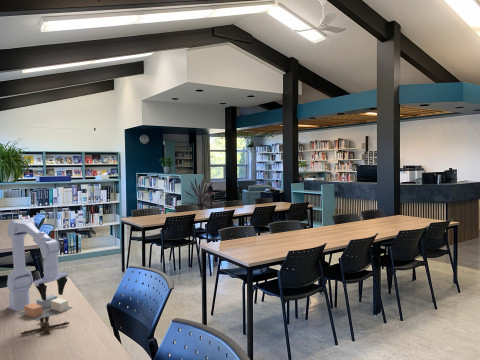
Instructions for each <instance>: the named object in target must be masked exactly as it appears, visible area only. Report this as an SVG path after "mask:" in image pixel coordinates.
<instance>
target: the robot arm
mask: <svg viewBox="0 0 480 360" xmlns="http://www.w3.org/2000/svg"><path fill="white" fill-rule="evenodd" d="M7 233H8V238H11V247H12V249H11V250H12V262H13V270H12V272H11V273H9V274H8V275H7V281H6V288H7V289H8V290H9V292H8V293H9V294H8V302H9V305H8V306H7V308H8V309H10V310H12V311H14V312H19V311H24V306H25V305H28V304H31V299H30V288H31V286H32V285H34V286H35V288H36V289H37V291H38V293H39V294H40V297H41V298H42V300H44V301H45V300H46V297H47V287H48V286H47V285H46V284H47V283H51V282H55V281H56V283H57V291H58V293H57V294H58V295H59V296H62V295H63V294H64V290H65V286H66V284H67V282H68V278H69V272H61V273H59V258H58V257H59V256H58V254H59V253H58V252H60V250H61V243H60V241H59V240H58V239H57V238H51V237H50V236H49V235H48V234H47V233H46V232H45V231H41V230H40V229H38V228H37V227H36V222H35V220H34V219H33V218H31V217H29V218H23V219H17V220H10V221H9V222H8V224H7ZM27 235H29V236H31V237H32V241H33V242H34V243H35V245H36V246H38V247H39V250H40V253H41V257H42V259H43V277H42V278H38V279H37V280H34V279H33V278H34V277H33V275H32V271H30V270H29V269H27V267H26V253H25V237H26V236H27ZM41 298H40V299H41Z"/></svg>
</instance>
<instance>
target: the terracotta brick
mask: <svg viewBox="0 0 480 360" xmlns="http://www.w3.org/2000/svg"><path fill="white" fill-rule="evenodd" d="M23 311H25V315H28V316H31V317H33V318H35V317H37V316H40V315H43V313H42V306H40V305H38V304H37V303H34V302H30V304H28V305H25V306H24V309H23Z"/></svg>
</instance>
